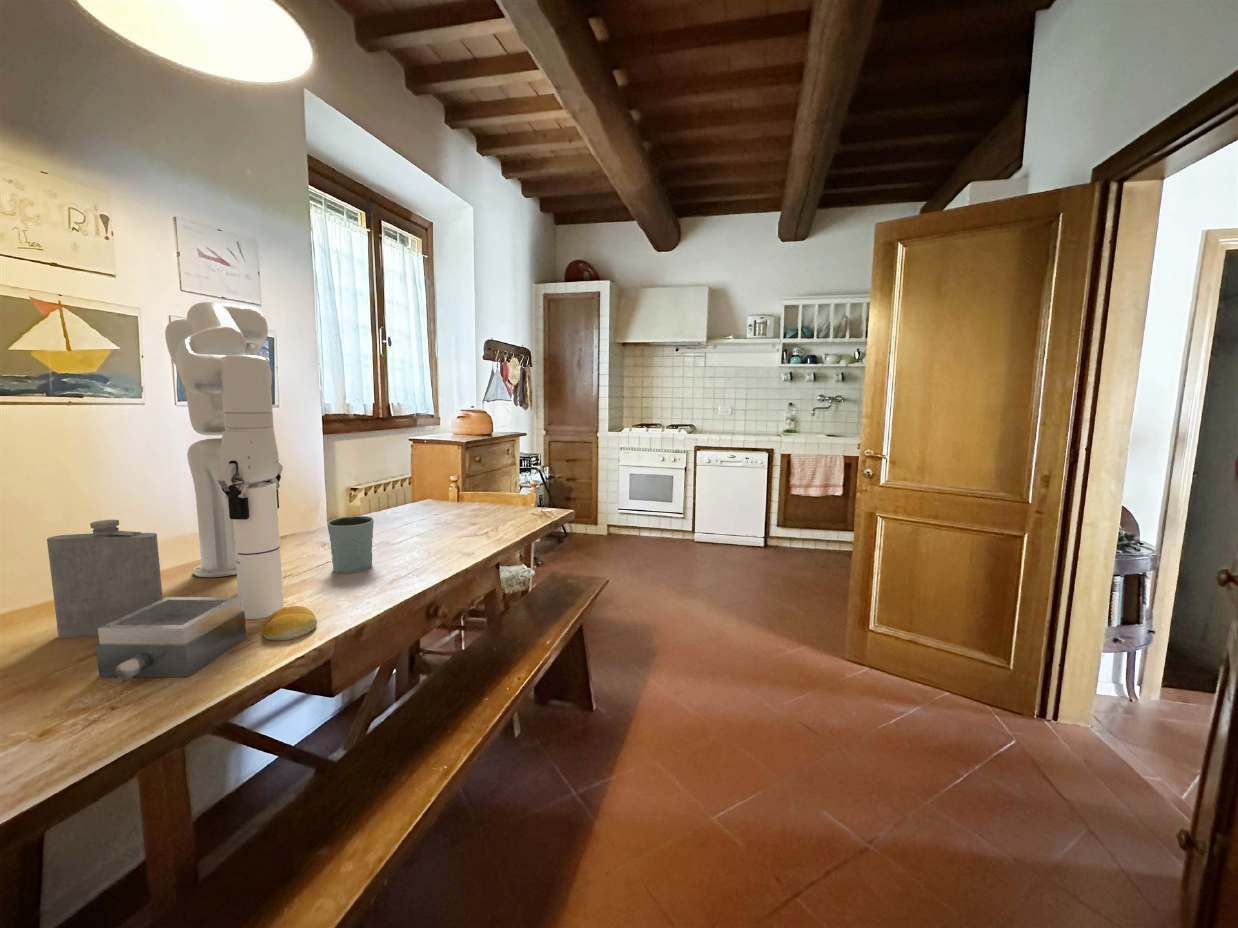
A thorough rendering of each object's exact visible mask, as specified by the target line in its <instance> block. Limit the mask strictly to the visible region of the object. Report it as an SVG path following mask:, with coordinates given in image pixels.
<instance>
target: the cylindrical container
mask: <svg viewBox="0 0 1238 928" xmlns="http://www.w3.org/2000/svg"><path fill="white" fill-rule="evenodd" d="M236 487H237V488H238V489H239V490H240V487H241V486H236ZM245 497H248V505H249V519H246V520H241V519H233V528H234V542H235V555H236V569H237V574H236V579H237V581H236V582H237V593H238V594H237V595H238V597H240V598H241V611H244V612H245V620H259V619H260V620H261V619H265V618H268V617H269V616H270V615H271V614H273V613H274V612H275V611H277V610H279V609H281V608H284V607H285V605H284V604H285V603H284V591H283V589H284V588H283V576H282V557H281V555H282V554H281V543H280V528H279V526H280V525H279V511H278V510H279V508H277V491H276V484H275V483H255V484H249V486H248V489H247V492H246V495H245Z"/></svg>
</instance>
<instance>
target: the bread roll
mask: <svg viewBox="0 0 1238 928" xmlns="http://www.w3.org/2000/svg"><path fill="white" fill-rule="evenodd" d="M317 624H318V619H317V617H316V615H315V613H314V611H312V610H310V609H309V608H308V607H304V606H300V605H290V606H284V608H281V609H279V610H277V611H275V612H274V613H273V614H271V615H270V616H269V617H266V619H265V621H264V623H263V630H262V636H263V637H264V639H266V640H269V641H288V639H289V640H294V639H297V638H299V636H300V637H303V636H304V634H305V635H307V634H309V633H311V632H312V631H313V630H315V628H316V626H317ZM311 630H312V631H311ZM310 631H311V632H310ZM308 632H309V633H308ZM306 633H307V634H306ZM302 635H303V636H302ZM293 638H294V639H293Z"/></svg>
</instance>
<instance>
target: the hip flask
mask: <svg viewBox="0 0 1238 928" xmlns="http://www.w3.org/2000/svg"><path fill="white" fill-rule="evenodd" d="M89 525H90V529H93V530H92V533H77V534H76V533H75V534H61V535H54V536H50V537H47V538H46V544H47V551H48V558H49V559H48V560H49V567H50V577H51V586H52V594H53V601H54V613H55V619H56V626H57V627H56V628H57V637H58V638H59V639H62V640H63V639H64V638H65V639H71V638H72V639H73V638H82V637H96V636H99V634H98V628H100V627H102V626H104V625H106V624H108V623H111V622H113V621H115V620H117V619H119V618H122V617H124V616H126V615H128V614H130V613H133V612H135V611H137V610H139V609H141V608H144V607H146V606H148V605H150V604H152V603H155V602H157V601H159V600H161V599H163V598H164V597H163V587H162V577H161V575H162V574H161V566H160V565H161V564H160V555H159V546H158V545H159V543H158V534H157V533H156V532H141V531H130V530H129V531H128V530H119V529H120V528H119V527H118V526H120V520H119V519H104V520H96V521H92V522H90V524H89Z"/></svg>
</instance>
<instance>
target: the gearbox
mask: <svg viewBox="0 0 1238 928" xmlns="http://www.w3.org/2000/svg"><path fill="white" fill-rule="evenodd" d="M246 628H247V627H246V619H245V612H244V611H241V598H240V597H239V596H238V597H237V596H236V597H235V596H234V597H232V596H231V597H228V596H227V597H226V596H225V597H222V596H221V597H220V596H219V597H217V596H216V597H215V596H214V597H212V596H208V597H205V596H203V597H202V596H198V597H197V596H195V597H194V596H189V597H188V596H165V597H163V599H161V600H159V601H157V602H155V603H152V604H150V605H148V606H146V607H144V608H141V609H139V610H137V611H135V612H133V613H130V614H128V615H126V616H124V617H122V618H119V619H117V620H115V621H113V622H111V623H108V624H106V625H104V626H102V627H100V628H98V634H99V635H98V641H99V642H98V643H97V644H96V645H95V650H96V659H97V660H96V661H97V670H98V677H99V678H119V679H121V680H124V681H125V680H130V679H131V678H189V677H191V676H192V675H194V674H195V673H196V672H198V671H200V670H202V669H203V668H205V667H206V666H207V665H209V664H210V663H212V662H213V661H215V660H216V659H217V658H220V657H221V656H222V655H224V654H225V653H226V652H228V651H230V650H231V649H233V648H234V647H236V646H237V645H239V644H240V643H241V642H243V641H244V640H246V639H247V629H246Z"/></svg>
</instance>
